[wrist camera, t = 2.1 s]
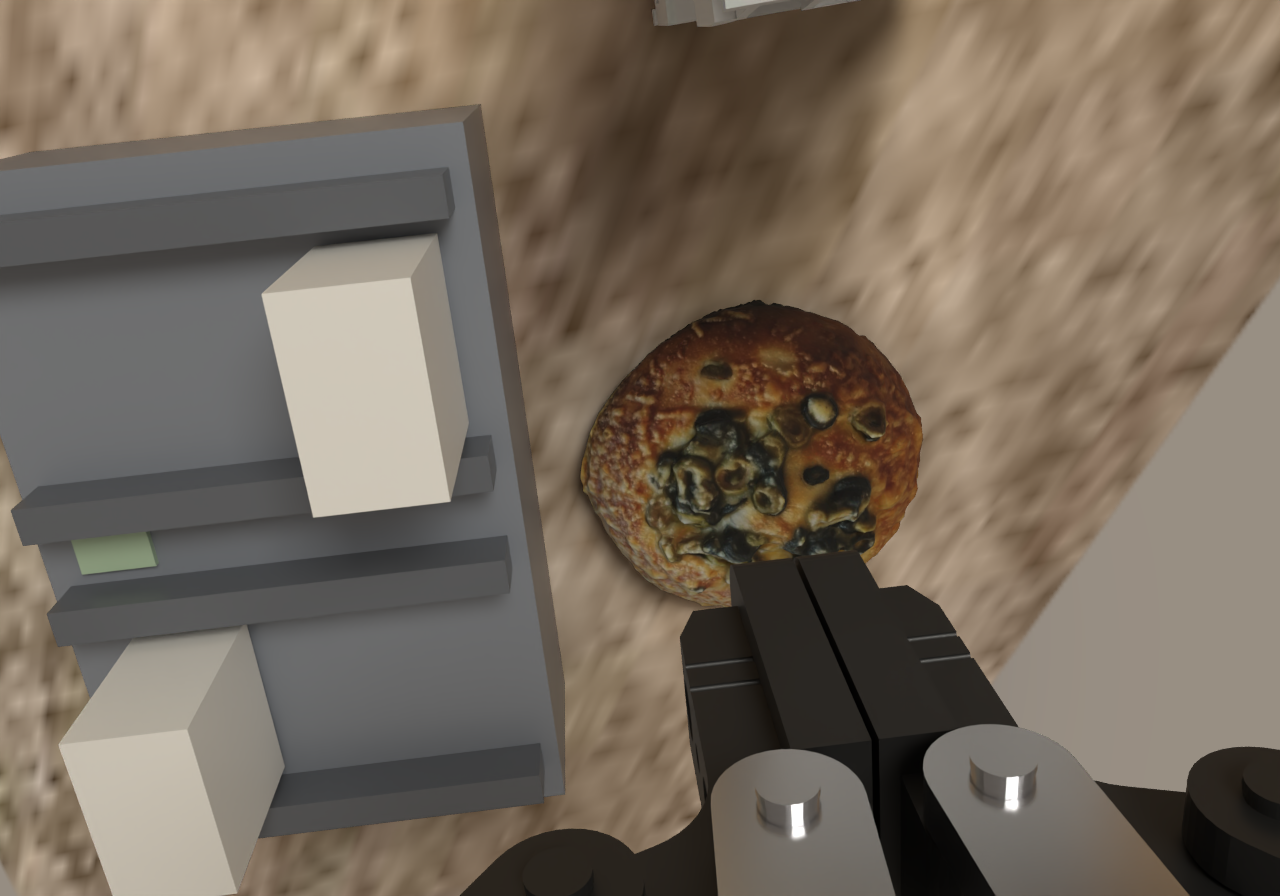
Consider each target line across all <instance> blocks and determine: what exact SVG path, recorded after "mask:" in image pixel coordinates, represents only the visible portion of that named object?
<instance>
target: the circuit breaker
mask: <svg viewBox="0 0 1280 896" xmlns="http://www.w3.org/2000/svg"><path fill="white" fill-rule="evenodd" d="M853 1H859V0H655V7H656V9H652V16H653V23H654V26H656V25H658V26H671V25H676V24H682V23H688V22H693V21H697V26H698V27H712V26H717V25H721V24H726V23H730V22H733V21H736V20H741V19H746V18H750V17H756V16H761V15H767V14H773V13H778V12H784V11H789V10H795V9H801V11H803V10H809V9H814V8H820V7H825V6H831V5H837V4H842V3H848V2H853Z"/></svg>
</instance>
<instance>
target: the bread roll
mask: <svg viewBox="0 0 1280 896" xmlns="http://www.w3.org/2000/svg"><path fill="white" fill-rule="evenodd" d="M922 441H923V434H922V424H921V417H920V416H919V415H918V414H917V413H916V410H915V408H914V405H913V403H912V400H911V398H910V395H909V392H908V389H907V388H906V386H905V384H904V382H903V380H902V378H901V376H900V374H899V373H898V372H897V371H896V369H895V368H894V367H893V366H892V364H891V363H890V362H889V360H888V359H887V358H886V357H885V356H884V355H883V354H882V353H881V352H880V351H879V350H878V349H877V348H876V346H875V345H874V343H873V342H871V341H870V340H868V339H867V337H866V336H859V335H857V334H856V333H855V332H854V331H853V330H852V329H851V328H849V327H848V326H846V325H844V324H843V323H841V322H839V321H836V320H833V319H829V318H826V317H823V316H820V315H817V314H814V313H811V312H805V311H803V310H801V309H798V308H795V307H790V306H783V305H781V304H776V303H773V304H771V305H767V304H765V303H763V302H762V301H761V300H756V301H755V300H753V301H752V302H748V303H746V304H744V305H742V304H740V305H739V306H736V307H730V308H726V309H723V310H722V309H719V310H718V311H717V312H715V311H714V312H712V313H710V314H708V315H706V316H704V317H703V318H702V319H699V320H697V321H694V322H692V323H691V324H688V325H687V326H686V327H685V328H684V329H682V330H680V331H678V332H677V333H676V334H674V335H672V336H671V338H670V339H666V340H665V341H664V342H662V343H661V344H660V345H659V346H657V348H656V349H655V350H654V351H652V352H651V353H649V354H648V355H647V356H646V358H645V359H644V360H643V361H642V362H641V363H639V366H638V367H636V368H635V369H634V370H632V372H631V373H629V374H628V375H627V377H626V378H625V379H624V380H623V382H622V383H621V384H620V385H619V386H618V388H617V389H616V390H615V391H614V393H613V394H612V395H611V396H610V398H609V399H608V400H607V402H606V404H605V405H604V407H603V409H602V410H601V411H600V412H599V413H598V416H597V419H596V421H595V423H594V425H593V427H592V429H591V432H590V435H589V439H588V442H587V446H586V450H585V454H584V457H583V460H582V468H581V481H582V483H583V492H585V493H586V494H587V495H588V496H589V498H590V502H591V504H592V506H593V508H594V511H595V513H596V514H598V516H599V517H600V519H601V521H602V523H603V526H604V528H605V531H606V532H607V533H608V535H609V536H610V537H611V539H612V540H613V541H614V542H615V544H616V545H617V547H618V548H619V549H620V551H621V552H622V554H623V555H624V556H625V557H626V558H627V559H628V560H629V561H630V562H631V563H632V565H633V566H634V568H635V570H637V571H638V572H639V573H640V574H641V575H642V576H643V577H644V578H645V579H646V580H647V581H649V582H650V583H652V584H654V585H656V586H657V587H658V588H659V589H660V590H665V591H666V592H668V593H672V594H675V595H677V596H680V597H682V598H684V599H687V600H691V601H695V602H697V603H699V604H700V605H701V606H712V605H717V606H719V605H721V606H723V607H731V593H730V565H734V564H742V563H751V562H759V561H767V560H776V559H784V558H792V560H793V561H794V558H795V557H799V556H808V555H816V554H825V553H833V552H842V551H850V550H857V551H858V552H859V554H860V556H861V557H862V559H863V561H864V563H866V562H868V561H869V560H870V559H871V558H872V557H874V556H876V555H877V553H878V552H879V551H880V550H881V549H882V548H883V546H884V545H885V544H886V543H887V542H888V540H889V539H890V538H891V537H892V536H893V535H894V534H895V533H896V532H897V530H898V528H899V526H900V521H901V520H902V518H903V517H904V515H905V510H906V508H907V506H908V504H909V503H910V502H911V501H912V499H913V498H914V497H915V495H916V492H917V490H918V488H917V478H918V467H919V462H920V449H921V445H922Z"/></svg>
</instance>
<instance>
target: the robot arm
mask: <svg viewBox="0 0 1280 896" xmlns="http://www.w3.org/2000/svg"><path fill="white" fill-rule="evenodd" d="M730 593H731V607H723V608H715V609H707V610H698V611H693V612H692V614H691V616H690V618H689V620H688V622H687V624H686V626H685V628H684V630H683V632H682V634H681V636H680V643H681V654H682V664H683V675H684V685H685V696H686V706H687V717H688V727H689V738H690V746H691V752H692V757H693V763H694V768H695V774H696V778H697V785H698V790H699V796H700V800H701V807H702V809H701V810H700V812H699V814H698V815H697V816H696V818H695V819H694V820H693V821H692V822H691V823H690V824H689V825H688V826H687V827H686V828H685V829H683V830H682V831H681V832H680V833H678V834H677V835H675V836H674V837H672V838H670V839H669V840H667V841H665V842H663V843H661V844H659V845H656V846H654V847H652V848H649V849H647V850H644V851H642V852H639V853H637V854H634V853H633V852H632V851H631V850H630V849H629V847H627V846H626V845H625V844H623V843H622V842H621V841H619V840H617V839H615V838H614V837H612V836H610V835H607V834H604V833H601V832H598V831H592V830H586V829H562V830H555V831H550V832H545V833H542V834H539V835H536V836H533V837H530V838H528V839H526V840H524V841H522V842H520V843H518V844H516V845H515V846H513V847H512V848H510V849H508V850H507V851H506V852H505V853H503V854H502V855H501V856H500V857H499V858H497V859H496V860H495V861H494V862H493V863H492V864H491V865H490V866H489V867H488V868H487V869H486V870H485V871H484V872H483V873H482V874H481V875H480V876H479V877H478V878H477V879H476V880H475V881H474V882H473V883H472V884H471V885H470V886H469V887H468V888H467V889H466V890H465V891H464V892H463V893H462V894H461V895H460V896H1280V750H1276V749H1269V748H1262V747H1261V748H1260V747H1234V748H1227V749H1222V750H1218V751H1215V752H1212V753H1210V754H1208V755H1206V756H1204V757H1202V758H1201V759H1200V760H1198V761H1197V762H1196V763H1195V764H1194V765H1193V767H1192V768H1191V770H1190V772H1189V775H1188V779H1187V788H1186V792H1177V791H1167V790H1157V789H1147V788H1136V787H1127V786H1119V785H1113V784H1107V783H1103V782H1099V781H1094V780H1093V779H1092V778H1091V776H1090V775H1089V774H1088V773H1087V772H1086V770H1085V769H1084V768H1083V767H1082V765H1081V764H1080V763H1079V762H1078V761H1077V759H1076V758H1075V757H1074V756H1073V755H1072V754H1071V753H1070V752H1069V751H1068V750H1066V749H1065V748H1064V747H1062V746H1061V745H1059V744H1058V743H1057V742H1055V741H1053V740H1051V739H1050V738H1048V737H1046V736H1043V735H1041V734H1038V733H1036V732H1033V731H1030V730H1027V729H1023V728H1019V727H1018V725H1017V724H1016V722H1015V721H1014V719H1013V718H1012V716H1011V715H1010V713H1009V712H1008V710H1007V709H1006V707H1005V706H1004V704H1003V702H1002V701H1001V699H1000V698H999V696H998V695H997V693H996V692H995V690H994V689H993V687H992V686H991V684H990V682H989V681H988V679H987V678H986V676H985V675H984V673H983V672H982V670H981V669H980V667H979V666H978V664H977V663H976V661H975V660H974V658H971V657H970V652H969V650H968V649H967V647H966V646H965V644H964V643H963V641H962V640H961V638H960V637H959V636H958V637H957V635H956V630H955V629H954V627H953V626H952V624H951V623H950V621H949V620H948V618H947V617H946V615H945V614H944V612H943V611H942V609H941V607H940V606H939V605H938V604H936V603H935V602H933V601H931V600H930V599H928V598H927V597H925V596H923V595H922V594H920V593H919V592H917V591H915V590H914V589H912V588H911V587H909V586H907V585H905V586H897V587H888V588H880V589H879V587H878V586H877V584H876V582H875V580H874V578H873V577H872V575H871V573H870V571H869V570H868V568H867V566H866V564H865V563H864V561H863V559H862V557H861V556H860V554H859V552H858V551H857V550H850V551H842V552H833V553H825V554H816V555H808V556H799V557H795V558H794V561H793V560H792V558H784V559H776V560H767V561H759V562H751V563H742V564H734V565H730Z"/></svg>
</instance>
